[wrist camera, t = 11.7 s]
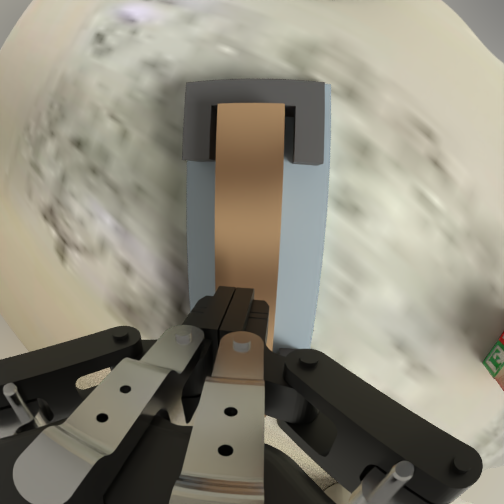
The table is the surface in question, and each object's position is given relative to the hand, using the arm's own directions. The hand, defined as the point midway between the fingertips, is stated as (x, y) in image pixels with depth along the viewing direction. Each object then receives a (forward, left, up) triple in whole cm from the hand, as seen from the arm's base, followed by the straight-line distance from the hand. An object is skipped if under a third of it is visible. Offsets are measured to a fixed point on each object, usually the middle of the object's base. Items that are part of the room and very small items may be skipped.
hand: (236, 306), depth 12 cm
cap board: (0, 0, -8) cm, 8 cm away
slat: (0, 0, -7) cm, 7 cm away
